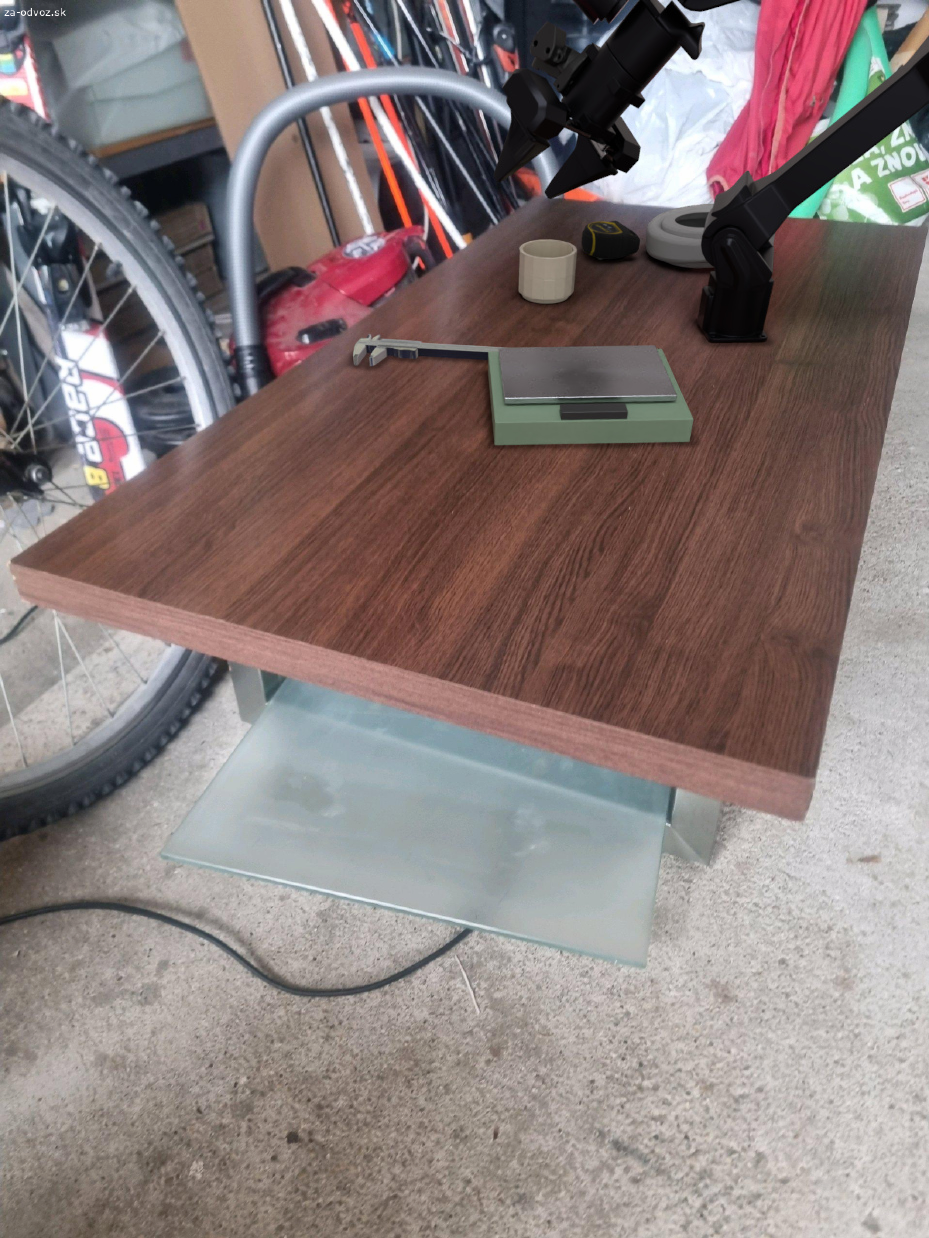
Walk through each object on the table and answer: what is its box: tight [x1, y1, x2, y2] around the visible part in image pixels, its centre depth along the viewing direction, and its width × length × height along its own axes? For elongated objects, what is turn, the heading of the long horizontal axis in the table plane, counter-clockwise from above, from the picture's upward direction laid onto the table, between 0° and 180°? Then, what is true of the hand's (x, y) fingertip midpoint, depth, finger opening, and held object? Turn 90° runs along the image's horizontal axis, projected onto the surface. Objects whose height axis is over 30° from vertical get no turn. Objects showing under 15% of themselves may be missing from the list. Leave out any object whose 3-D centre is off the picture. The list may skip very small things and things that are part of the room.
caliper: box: [352, 333, 506, 367], centre depth 94 cm, size 20×1×6 cm
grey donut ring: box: [645, 203, 776, 269], centre depth 114 cm, size 17×6×15 cm
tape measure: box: [580, 220, 641, 261], centre depth 116 cm, size 7×7×4 cm
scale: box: [487, 348, 694, 446], centre depth 84 cm, size 18×15×3 cm
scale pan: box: [498, 344, 677, 404], centre depth 84 cm, size 16×11×1 cm
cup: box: [517, 238, 578, 305], centre depth 105 cm, size 7×7×6 cm
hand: (522, 187), depth 94 cm, fingers open, 9 cm apart
